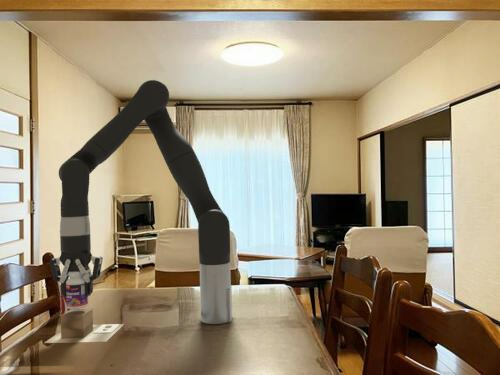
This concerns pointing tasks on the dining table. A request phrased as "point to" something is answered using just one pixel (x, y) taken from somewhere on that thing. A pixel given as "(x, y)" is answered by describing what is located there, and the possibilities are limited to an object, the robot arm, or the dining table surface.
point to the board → (89, 338)
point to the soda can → (63, 303)
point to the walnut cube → (76, 323)
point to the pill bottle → (76, 291)
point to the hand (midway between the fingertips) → (77, 295)
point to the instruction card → (106, 328)
